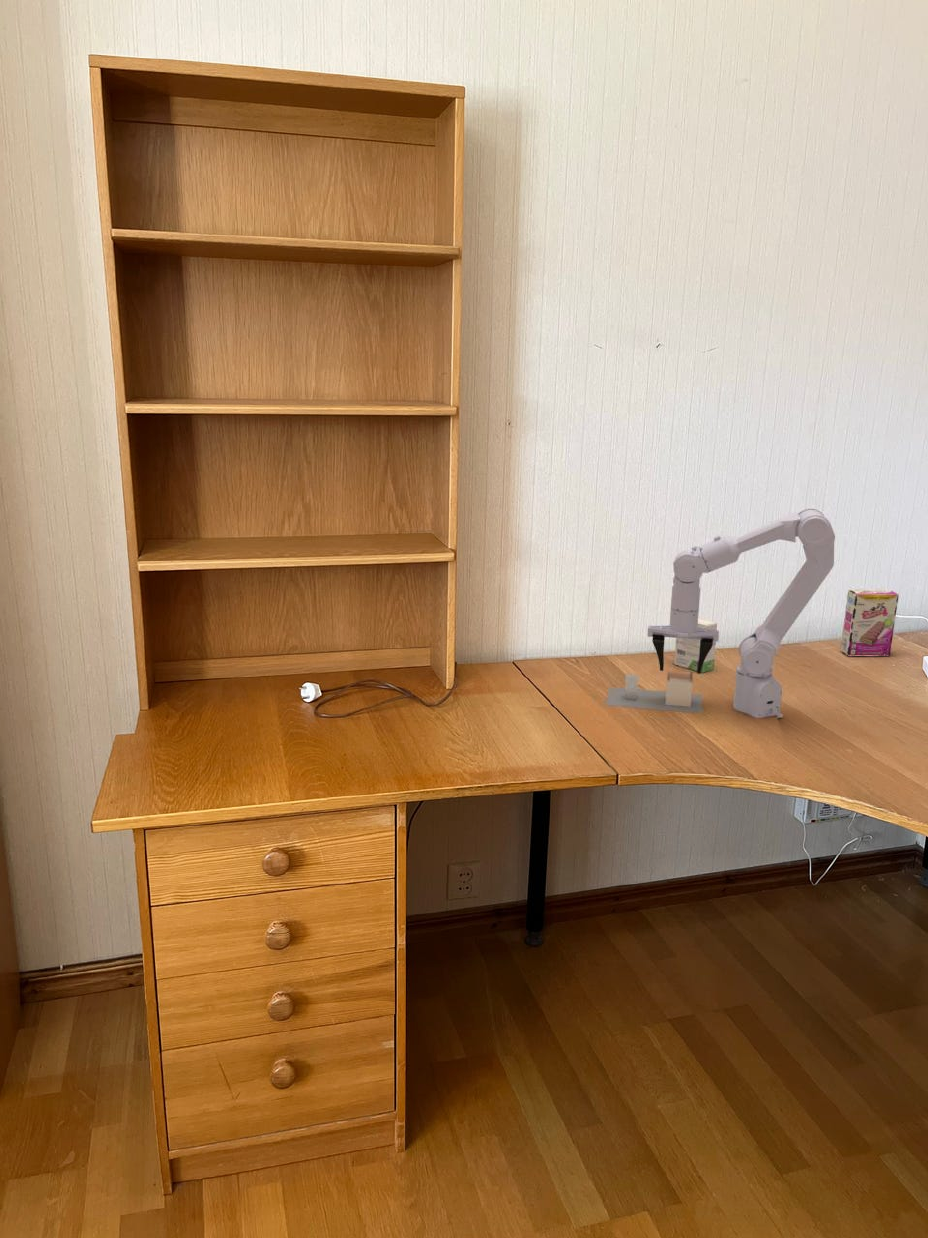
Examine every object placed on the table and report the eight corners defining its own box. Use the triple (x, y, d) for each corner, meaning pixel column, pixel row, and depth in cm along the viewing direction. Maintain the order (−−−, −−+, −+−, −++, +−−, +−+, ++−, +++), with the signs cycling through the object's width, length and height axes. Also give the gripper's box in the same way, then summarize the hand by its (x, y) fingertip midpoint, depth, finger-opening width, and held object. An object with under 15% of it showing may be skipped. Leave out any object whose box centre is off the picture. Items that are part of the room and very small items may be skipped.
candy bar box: (848, 657, 242) (855, 593, 238) (839, 651, 247) (846, 589, 243) (891, 657, 243) (899, 593, 238) (882, 651, 248) (889, 588, 243)
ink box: (714, 669, 232) (718, 622, 229) (702, 673, 229) (705, 625, 225) (685, 661, 238) (689, 614, 235) (673, 664, 235) (676, 618, 232)
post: (637, 700, 210) (638, 674, 208) (636, 704, 207) (637, 678, 206) (624, 699, 210) (626, 673, 209) (624, 703, 208) (625, 677, 206)
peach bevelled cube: (690, 698, 208) (692, 672, 207) (690, 706, 204) (692, 679, 202) (666, 696, 210) (667, 670, 208) (665, 704, 205) (667, 677, 203)
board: (701, 698, 211) (701, 694, 211) (702, 717, 200) (702, 713, 200) (609, 691, 216) (609, 686, 215) (604, 709, 204) (605, 705, 204)
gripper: (648, 611, 199) (644, 673, 203) (721, 615, 196) (715, 679, 199) (649, 603, 206) (646, 663, 209) (720, 607, 203) (715, 669, 206)
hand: (680, 670), depth 205 cm, fingers open, 7 cm apart
